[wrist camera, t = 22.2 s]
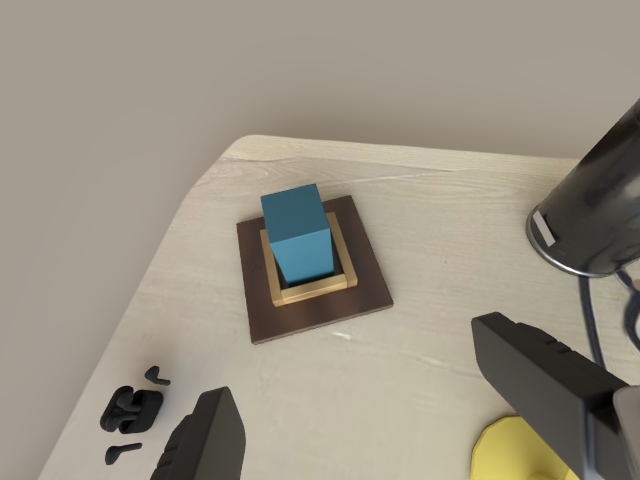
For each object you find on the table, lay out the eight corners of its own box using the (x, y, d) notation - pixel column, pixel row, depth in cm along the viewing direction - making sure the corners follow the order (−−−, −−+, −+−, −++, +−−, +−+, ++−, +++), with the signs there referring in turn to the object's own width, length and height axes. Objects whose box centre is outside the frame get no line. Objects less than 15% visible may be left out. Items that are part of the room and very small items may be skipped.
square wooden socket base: (350, 199, 36) (350, 186, 34) (392, 307, 29) (396, 299, 27) (238, 227, 36) (231, 215, 33) (254, 345, 29) (246, 340, 26)
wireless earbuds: (140, 460, 25) (95, 471, 20) (114, 451, 25) (66, 459, 21) (179, 371, 28) (149, 364, 24) (157, 365, 28) (122, 356, 24)
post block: (322, 236, 33) (315, 182, 25) (334, 275, 30) (330, 228, 23) (280, 247, 33) (260, 196, 25) (289, 287, 30) (269, 244, 22)
